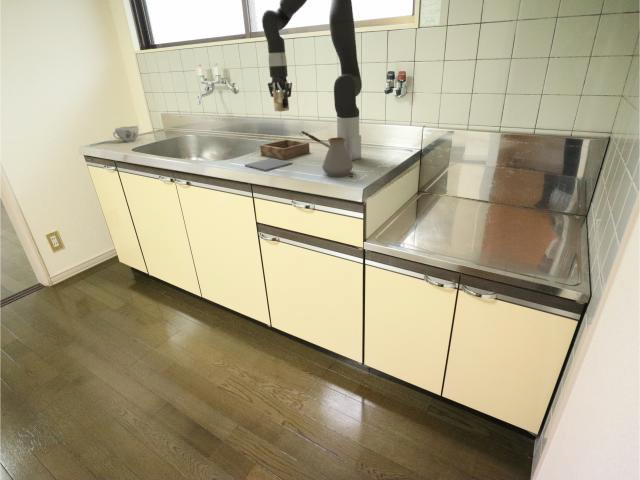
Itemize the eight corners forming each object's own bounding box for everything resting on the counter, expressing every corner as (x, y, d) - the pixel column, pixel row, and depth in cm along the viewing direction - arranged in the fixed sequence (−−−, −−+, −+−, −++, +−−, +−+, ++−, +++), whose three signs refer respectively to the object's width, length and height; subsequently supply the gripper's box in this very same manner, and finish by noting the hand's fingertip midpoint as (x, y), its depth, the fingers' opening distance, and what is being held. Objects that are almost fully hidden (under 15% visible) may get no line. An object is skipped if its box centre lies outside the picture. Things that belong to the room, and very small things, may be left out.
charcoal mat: (292, 163, 158) (292, 162, 158) (265, 171, 150) (265, 169, 149) (271, 159, 167) (270, 158, 167) (244, 166, 159) (244, 164, 158)
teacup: (133, 138, 233) (130, 125, 229) (145, 140, 226) (142, 126, 222) (110, 143, 222) (106, 129, 218) (121, 144, 215) (117, 130, 211)
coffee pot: (358, 171, 143) (358, 131, 137) (344, 179, 135) (343, 136, 128) (310, 166, 154) (308, 128, 147) (294, 173, 145) (291, 133, 138)
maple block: (289, 110, 168) (287, 90, 164) (281, 111, 165) (279, 91, 162) (282, 109, 171) (280, 90, 167) (274, 110, 168) (272, 91, 165)
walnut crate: (309, 152, 176) (309, 142, 174) (283, 159, 166) (282, 149, 164) (287, 148, 186) (286, 139, 185) (261, 154, 176) (260, 145, 174)
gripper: (295, 64, 158) (298, 107, 165) (274, 65, 167) (277, 105, 174) (282, 64, 153) (285, 109, 160) (260, 65, 162) (264, 107, 170)
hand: (281, 107), depth 167 cm, fingers closed on maple block, 4 cm apart
